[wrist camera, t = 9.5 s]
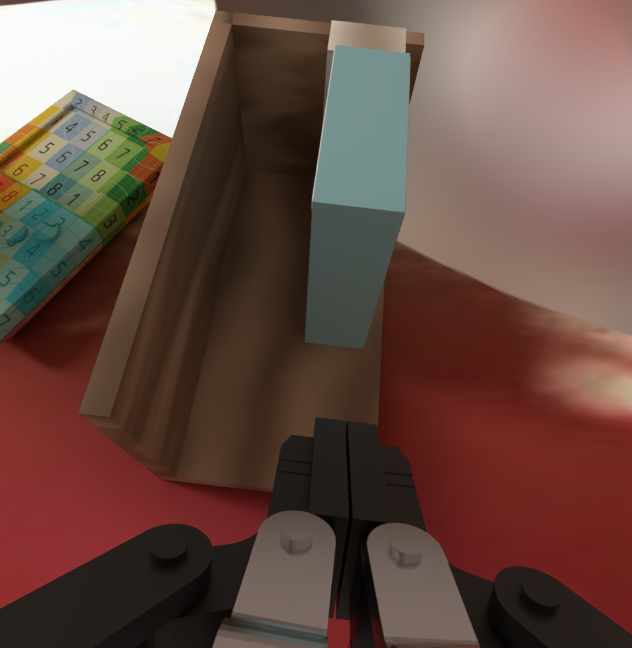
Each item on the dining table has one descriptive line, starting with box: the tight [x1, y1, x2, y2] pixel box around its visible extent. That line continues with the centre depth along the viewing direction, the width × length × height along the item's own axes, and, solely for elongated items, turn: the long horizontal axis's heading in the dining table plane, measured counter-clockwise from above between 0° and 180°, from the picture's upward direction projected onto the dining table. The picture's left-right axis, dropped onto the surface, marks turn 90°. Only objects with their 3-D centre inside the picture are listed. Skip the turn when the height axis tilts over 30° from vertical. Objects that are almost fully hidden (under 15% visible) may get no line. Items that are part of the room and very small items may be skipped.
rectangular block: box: [305, 45, 411, 349], centre depth 30 cm, size 4×11×14 cm, turn 174°
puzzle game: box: [0, 90, 172, 343], centre depth 37 cm, size 12×5×20 cm
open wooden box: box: [78, 11, 424, 492], centre depth 30 cm, size 13×26×14 cm, turn 174°
